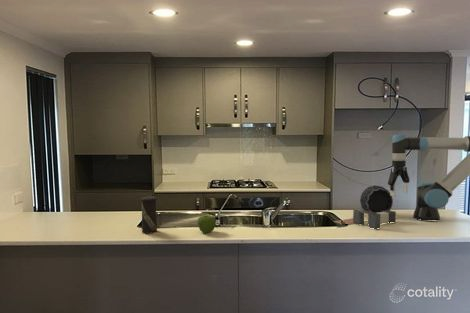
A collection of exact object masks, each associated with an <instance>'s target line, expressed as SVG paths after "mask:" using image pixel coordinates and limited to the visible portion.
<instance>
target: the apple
mask: <svg viewBox="0 0 470 313" xmlns="http://www.w3.org/2000/svg"><path fill="white" fill-rule="evenodd" d="M216 224H217V220H216V217H214V216H213V215H207V214H206V215H201V216H199V217H198V219H197V226H198V228H199V231H200V232H201V233H203V234H209V233H211V232H213V231H214V229H215V228H216Z"/></svg>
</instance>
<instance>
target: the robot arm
mask: <svg viewBox="0 0 470 313" xmlns="http://www.w3.org/2000/svg"><path fill="white" fill-rule="evenodd" d="M423 150H424V151H425V150H446V151H451V150H453V151H463V152H464V153H465V152H467V153H468V152H469V154H467V155H466V156H465V157H464V158H463V159H462V160H461V161H460V162H459V163H458V164H457V165H456V166H455V167H454V168H453V169H451V170H450V171H449V172H448V173H447V174H446V175H445V176H444V177H442V179H441V180H439V181H438V180H437V181H436V180H435V181H434V183H432V182H429V183H428V182H419V183H417V187H416V189H417V190H416V191H417V192H416V207H415V210H414V212H413V219H415V218H417V219H416V220H418V219H421V220H420V221H423V220H439V221H441V215H440V212H439V209H442V208H444V207H446V205H447V204H448V202H449V201H450V198H451V197H452V196H453V191H454V190H456V189H457V188H458V186H460V185H461V184H462V183H463V182H464V181H465V180H466V179H468V177H470V135H466V136H463V137H437V136H435V137H432V136H430V137H428V136H425V137H424V136H421V137H419V136H406V134H393V136H392V139H391V153H392V154H391V157H392V158H391V159H392V161H391V164H392V165H391V166H392V167H393V168H391V169H390V173H389V178H388V182H387V185H388V186H389V187H390V188H389V192H390V196H392V197H396V182H397V180H398V178H399V177H400V178H401V181H402V187H401V189H402V190H401V191H402V194H408V183H410V176H409V173H408V168H407V166H406V163H407V162H406V161H407V160H406V157H407V156H406V154H407V153H406V152H407V151H423Z"/></svg>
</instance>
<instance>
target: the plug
mask: <svg viewBox="0 0 470 313" xmlns="http://www.w3.org/2000/svg"><path fill="white" fill-rule="evenodd" d="M378 214H380V224H382V223H388V222H389V223H390V222H395V223H396V211H393V210H391V209H390V210H384V211H382V212H378ZM367 220H368V221H367V225H368V224H369V214H367Z"/></svg>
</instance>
